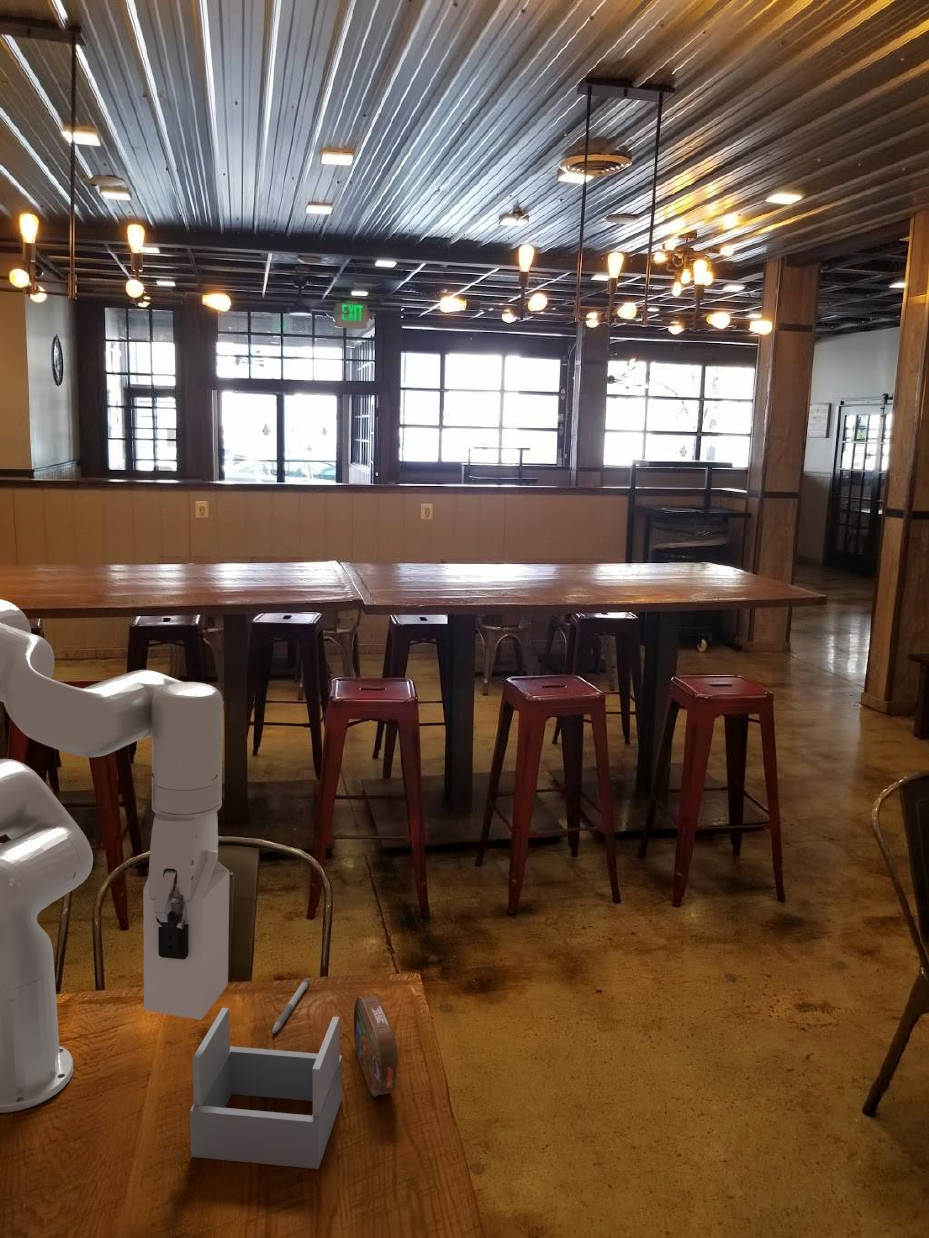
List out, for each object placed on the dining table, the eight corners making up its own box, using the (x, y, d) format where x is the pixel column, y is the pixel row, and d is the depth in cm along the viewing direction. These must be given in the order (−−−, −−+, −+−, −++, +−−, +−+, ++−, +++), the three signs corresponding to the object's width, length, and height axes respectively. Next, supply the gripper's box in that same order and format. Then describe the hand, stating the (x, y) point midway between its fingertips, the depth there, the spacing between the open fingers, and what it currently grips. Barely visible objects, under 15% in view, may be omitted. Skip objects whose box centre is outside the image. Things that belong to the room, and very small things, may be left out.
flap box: (191, 1156, 111) (188, 1063, 109) (226, 1087, 123) (224, 1002, 120) (318, 1168, 110) (318, 1075, 107) (342, 1098, 121) (341, 1012, 119)
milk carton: (201, 1021, 108) (203, 865, 104) (143, 1011, 109) (142, 856, 106) (228, 986, 115) (230, 838, 111) (173, 977, 116) (173, 830, 112)
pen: (311, 984, 147) (311, 976, 146) (276, 1039, 133) (276, 1030, 133) (305, 983, 147) (305, 975, 147) (269, 1038, 133) (269, 1029, 133)
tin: (351, 1039, 133) (351, 984, 132) (373, 1035, 134) (374, 980, 133) (376, 1111, 119) (376, 1050, 118) (400, 1106, 120) (401, 1046, 119)
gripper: (183, 764, 116) (182, 898, 119) (121, 822, 99) (123, 976, 102) (243, 769, 115) (241, 904, 119) (192, 828, 98) (191, 983, 102)
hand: (186, 936), depth 111 cm, fingers closed on milk carton, 7 cm apart
